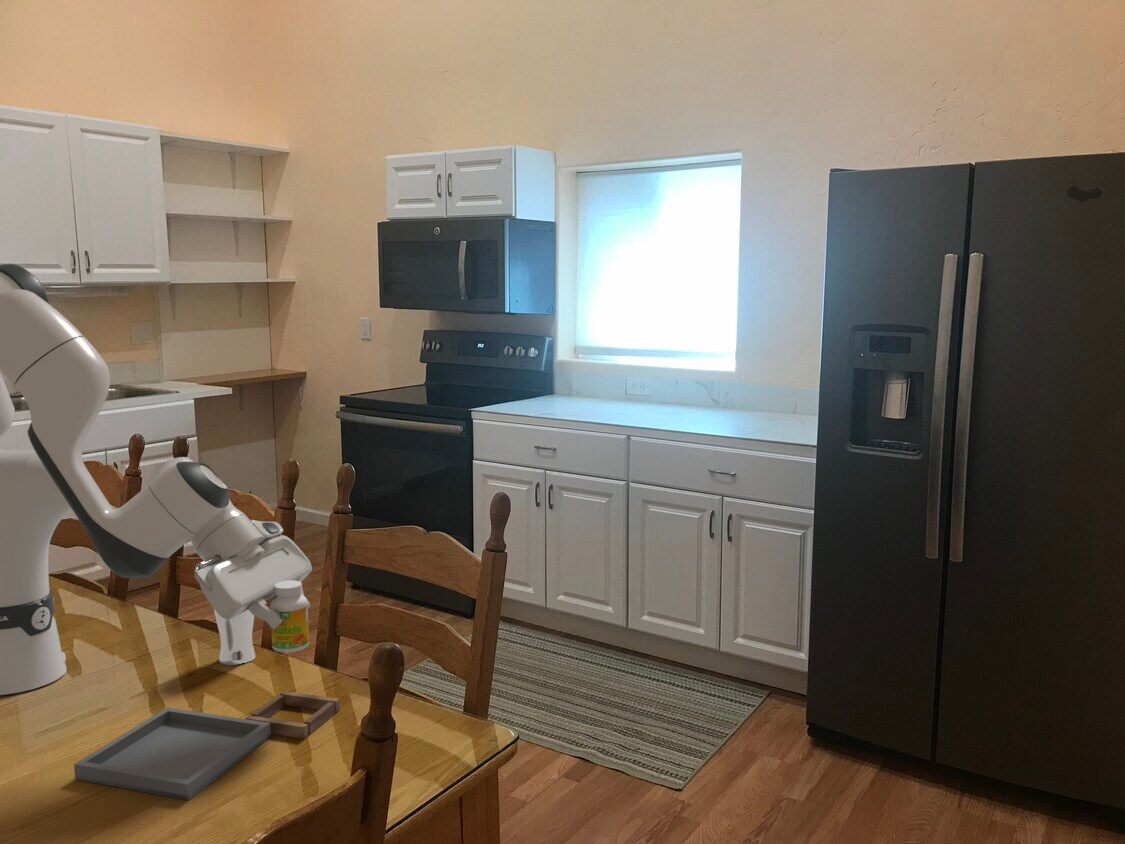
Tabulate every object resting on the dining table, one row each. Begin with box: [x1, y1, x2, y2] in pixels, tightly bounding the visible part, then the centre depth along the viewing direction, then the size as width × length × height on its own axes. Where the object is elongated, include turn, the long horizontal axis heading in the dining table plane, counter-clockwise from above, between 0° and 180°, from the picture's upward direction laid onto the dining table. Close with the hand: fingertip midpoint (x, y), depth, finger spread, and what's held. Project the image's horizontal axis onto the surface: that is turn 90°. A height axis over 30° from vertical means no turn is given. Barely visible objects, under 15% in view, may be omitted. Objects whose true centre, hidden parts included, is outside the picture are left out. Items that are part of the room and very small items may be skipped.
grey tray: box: [73, 707, 272, 801], centre depth 131 cm, size 18×18×2 cm
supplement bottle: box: [269, 580, 310, 653], centre depth 140 cm, size 5×5×10 cm
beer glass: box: [213, 608, 256, 666], centre depth 165 cm, size 7×7×15 cm
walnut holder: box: [244, 690, 341, 740], centre depth 143 cm, size 10×10×2 cm
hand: (293, 617), depth 140 cm, fingers closed on supplement bottle, 5 cm apart
